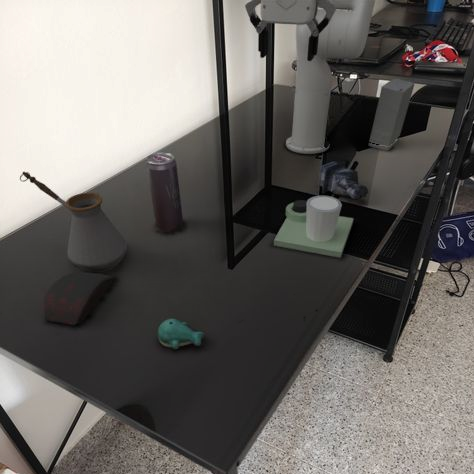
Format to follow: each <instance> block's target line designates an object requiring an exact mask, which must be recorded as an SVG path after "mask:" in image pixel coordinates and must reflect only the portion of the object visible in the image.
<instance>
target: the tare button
mask: <svg viewBox="0 0 474 474" xmlns="http://www.w3.org/2000/svg"><path fill="white" fill-rule="evenodd" d="M292 203H293V211H294V212H297V213H305V212H307V200H304V199H297V200H295V201H294V202H292Z"/></svg>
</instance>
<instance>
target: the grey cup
mask: <svg viewBox="0 0 474 474" xmlns="http://www.w3.org/2000/svg"><path fill="white" fill-rule="evenodd" d="M306 202H307V216H306V234H307V237H308V238H309V239H311V240H313V241H318V242H325V241H329V240H331V239H332V238H333V236H334V232H335V228H336V225H337V221H338V217H339V216H340V213H341V210H342V206H343V204H342V202H341V201H340V200H339V199H338V198H337V197H334V196H329V195H315V196H312V197H310V198H308V199H307V200H306Z"/></svg>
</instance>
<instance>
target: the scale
mask: <svg viewBox="0 0 474 474" xmlns="http://www.w3.org/2000/svg"><path fill="white" fill-rule="evenodd" d="M293 203H294V202H291V203H289V204H287V206H286V207H285V216H286V218H285V220H284V222H283V223H282V225H281V227H280V228H279V231H278V232H277V234H276V235H275V237H274V239H273V246H274V247H280V248H285V249H290V250H297V251H301V252H307V253H313V254H317V255H318V254H319V255H324V256H329V257H333V258H340V259H341V258H342V255H343V253H344V250H345V247H346V244H347V241H348V238H349V235H350V232H351V230H352V227H353V224H354V217H348V216H342V215H341V216H340V215H339V217H338V221H337V225H336V228H335V232H334V236H333V238H332V239H331V240H329V241H325V242H318V241H313V240H311V239H309V238H308V237H307V234H306V216H307V212H305V213H297V212H294V211H293Z"/></svg>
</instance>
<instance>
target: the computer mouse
mask: <svg viewBox="0 0 474 474" xmlns="http://www.w3.org/2000/svg"><path fill="white" fill-rule="evenodd" d="M114 280H115V278H114V277H113V276H111V275H106V274H103V273H99V272H89V271H88V272H85V271H81V272H80V271H79V272H71V273H67V274H65V275H63V276H61V277H60V278H58V279H57V280H56V281H55V282H54V283H52V285H51V286H50V287H49V288H48V290H47V291H46V293H45V296H44V299H43V311H44V314H45V317H46V320H48V321H49V322H52V323H58V324H64V325H69V326H76V325H78V324H80V323H81V322H82V321H84V319H86V318H87V317H88V316H89V315H90V313H91V312H92V311H93V309H94V308H95V306H96V305H97V304H98V302H99V301H100V300H101V299H102V297H103V296H104V295H105V293H106V292H107V291H108V289H109V288H110V287H111V285H112V284H113V282H114Z"/></svg>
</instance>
